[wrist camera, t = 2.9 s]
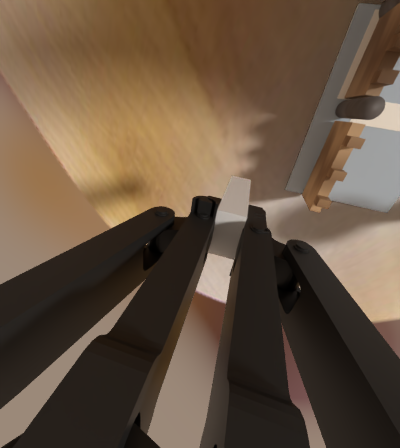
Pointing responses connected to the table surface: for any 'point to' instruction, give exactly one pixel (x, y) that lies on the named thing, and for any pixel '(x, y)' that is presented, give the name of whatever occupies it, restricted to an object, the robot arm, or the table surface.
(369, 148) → the card
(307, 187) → the notched wooden bar
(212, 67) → the table surface
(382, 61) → the fence fixed
